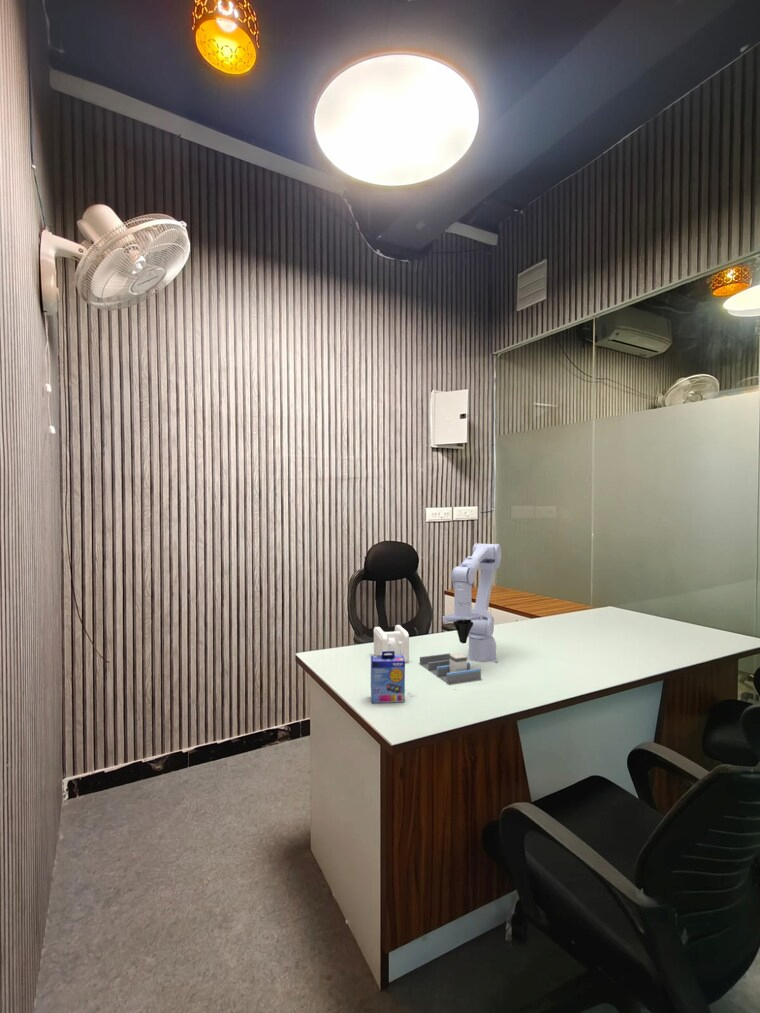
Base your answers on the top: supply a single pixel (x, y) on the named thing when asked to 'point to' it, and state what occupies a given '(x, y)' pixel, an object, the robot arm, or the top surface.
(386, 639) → the cable organizer
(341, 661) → the top surface
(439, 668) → the grey slotted rack
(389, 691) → the ink cartridge box
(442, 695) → the top surface
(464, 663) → the beige block
